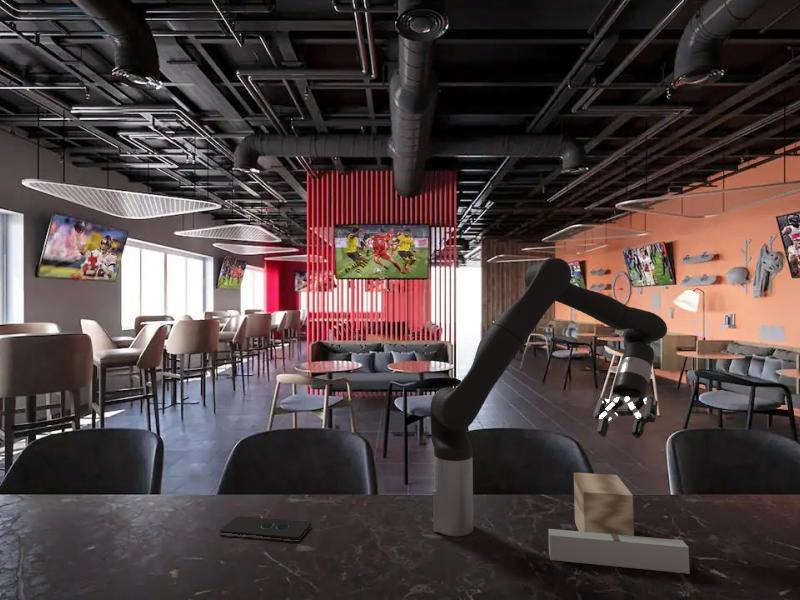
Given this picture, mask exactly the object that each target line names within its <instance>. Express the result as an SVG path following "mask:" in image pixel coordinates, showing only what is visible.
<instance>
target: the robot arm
mask: <svg viewBox="0 0 800 600" xmlns="http://www.w3.org/2000/svg"><path fill="white" fill-rule="evenodd" d="M571 279H572V269H571V266H570V264H569V263H568V262H567V261H566V260H564V259H562V258H558V257H551V258H546V259H544V260H541V261H539V262H536V263H534V264H532V265H531V266H529V267H528V269H527V270H526V271H525V273H524V283H525V286H526V290H525V291H524V292H523V294H522V295H521V296H520V297H519V298H518V299H517V300H516V301H515V302H513V304H511V305H510V306H508V308H506V309H505V310H504V311H503V312H502V313H500V315H499V316H498V317H497V318H496V319H494V321H493V323H492V324H491V325H490V327H488V329H487V330H486V332H485V333H484V335H482V338H481V340H480V341H479V343H478V346H477V349H476V352H475V355H474V358H473V361H472V364H471V366H470V368H469V370H468V372H466V375H465V376H464V377H463V378H462V380H460V382H459V383H458V385H457V386H455V387H449V386H448V387H441V388H440V389H438V390H437V391H436V392H435V393H434V394H433V396H432V399H431V402H430V407H429V408H430V411H429V412H430V414H429V415H430V434H431V435H430V436H431V437H430V438H431V443H432V446H433V456H434V457H433V458H434V459H433V461H434V462H433V463H434V464H433V465H434V467H433V468H434V469H433V470H434V473H433V474H434V478H433V479H434V488H433V490H432V496H433V497H432V499H433V500H432V505H433V506H432V507H433V508H432V510H433V517H432V519H433V521H432V522H433V532H436V533H440V534H442V535H444V536H448V537H449V536H450V537H464V536H468V535H470V534H471V533H472V532H473V531H474V520H475V519H474V482H473V478H474V474H473V472H474V471H473V468H474V467H473V446H472V443H471V441H470V439H469V436H468V433H467V428H469V427H470V425H472V423H473V422H474V421H475V419H476V418H477V416H478V414H479V413H480V411H481V410H482V407H483V405H484V404H485V402H486V400H487V398H488V397H489V395H490V393H491V391H492V390H493V388H494V387H495V385H496V384H497V383H498V381H499V380H500V378H501V377H502V376H503V374H504V373H505V371H506V370H507V369H508V367H509V366H510V364H511V363H512V362H513V361H514V359H515V358H516V356H517V355H518V354H519V352H520V351H521V350H522V348H523V346H524V345H525V344H526V342H527V340H528V339H529V337H530V336H531V334H532V333H533V332H534V330H535V329H536V327H537V326H538V324H539V323H540V321H541V320H542V318H543V317H544V315H545V314H546V312H547V311H548V309H550V307H552V305H553V304H554V303H555V302H557V303H560V304H562V305H565V306H567V307H570V308H572V309H575V310H576V311H579V312H581V313H583V314H585V315H587V316H589V317H591V318H593V319H595V320H596V321H598V322H600V323H602V324H603V325H606V326H608V327H609V328H612V329H614V330H617V331H621V330H622V331H623V335H622V336H623V348H624V349H623V350H624V351H623V355H622V357H621V361H620V364H619V366H618V368H617V372H616V375H615V379H614V383H613V386H612V395H611V397H610V398H608V399H607V398H604V396H600V397H599V398H598V401H597V403H596V406H595V409H594V412H593V417H594V418H595V419H596V420H597V422H598V425H597V429H596V432H597V434H598V435H600V437H602V438H606V437H607V433H608V429H609V424H610V423H611V422H612V421H613V420H616V419H618V418H619V417H624V416H628V417H632V416H633V415H634V416H635V418H636V419H634V421H633V424H632V431H631V435H632V436H633V437H634V438H635V439H641V437H642V436H643V434H644V429H645V426H646V425H647V424H648V423H655V422H656V420H657V419H656V418H657V410H658V405H659V404H658V403H659V402H658V401H657V400H656V398H655V397H654V396H653V395H652V394H648V390H649V385H650V382H651V378H652V377H651V376H652V368H653V363H654V361H655V360H654V359H655V351H654V349H653V347H652V346H651V345H649V344H652V343H654V342H655V341H658V340H661V339H663V338H664V337H665V336H666V335H667V333H668V325H667V323H666V321H665V320H664V319H663V318H662V317H661V316H660V315H658V314H656V313H654V312H651V311H647V310H644V309H641V308H637V307H632V306H628V305H627V304H625V303H623V302H620V301H619V300H617V299H615V298H613V297H611V296H609V295H607V294H604V293H601V292H598V291H595V290H591V289H587V288H584V287H580V286H578V285H576V284H574V283H571ZM644 406H645V409H644V413H642V411H641V409H642V408H643V407H644ZM612 410H613V412H614V413H613V412H612Z"/></svg>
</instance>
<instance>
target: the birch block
mask: <svg viewBox="0 0 800 600" xmlns="http://www.w3.org/2000/svg"><path fill="white" fill-rule="evenodd" d="M573 496H574V497H573V498H574V500H573V501H574V522H575V525H576V528H577V531H580V532H592V533H604V534H610V533H613V534H617V535H627V536H635V527H634V524H635V523H634V496H633V494H632V493H631V491H630V490H629V488H628V487H627V486H626V484H625V483H624V482H623V481H622V480H621V478H620V477H619V476H618V475H617V474H603V473H587V472H573Z"/></svg>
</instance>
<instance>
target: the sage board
mask: <svg viewBox="0 0 800 600" xmlns="http://www.w3.org/2000/svg"><path fill="white" fill-rule="evenodd" d="M547 531H548V533H547V534H548V554H549V559H550V560H551V561H557V562H568V563H578V564H579V563H580V564H589V565H590V564H591V565H598V566H608V567H619V568H626V569H627V568H628V569H629V568H630V569H639V570H649V571H657V572H659V571H660V572H669V573H680V574H691V573H690V572H691V571H690V569H691V568H690V549H689V548H690V547H689V546H688V545H687V544H686V542H685V541H684V540H683V539H672V538H661V537H659V538H658V537H649V536H648V537H647V536H637V535H636V536H635V535H634V536H627V535H617V534H613V533H610V534H604V533H592V532H580V531H578V530H566V529H555V528H554V529H553V528H548V530H547Z"/></svg>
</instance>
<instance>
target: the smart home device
mask: <svg viewBox="0 0 800 600" xmlns="http://www.w3.org/2000/svg"><path fill="white" fill-rule="evenodd" d="M310 526H311V527H312V522H311V521H306V520H293V519H281V518H280V519H279V518H265V517H254V516H253V517H252V516H236V517H234V518H233V519H232V520H231V521H229V522H228V523H226V524H225V525H224V526H223V527H222V528H221V529H219V533H220V532H222V533H232V534H238V535H240V534H241V535H244V534H245V535H256V536H263V537H271V538H281V539H290V540H300V538H301V537H302V536H303V535H304V533H305V532H306V531H307V530H308V529H309V528H310ZM310 529H311V528H310ZM310 529H309V530H310ZM304 536H305V535H304ZM300 541H301V540H300Z"/></svg>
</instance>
